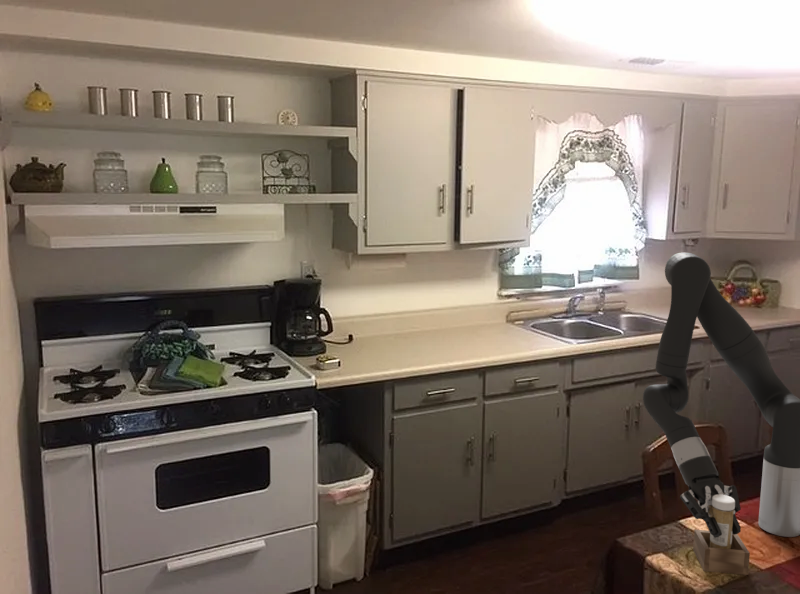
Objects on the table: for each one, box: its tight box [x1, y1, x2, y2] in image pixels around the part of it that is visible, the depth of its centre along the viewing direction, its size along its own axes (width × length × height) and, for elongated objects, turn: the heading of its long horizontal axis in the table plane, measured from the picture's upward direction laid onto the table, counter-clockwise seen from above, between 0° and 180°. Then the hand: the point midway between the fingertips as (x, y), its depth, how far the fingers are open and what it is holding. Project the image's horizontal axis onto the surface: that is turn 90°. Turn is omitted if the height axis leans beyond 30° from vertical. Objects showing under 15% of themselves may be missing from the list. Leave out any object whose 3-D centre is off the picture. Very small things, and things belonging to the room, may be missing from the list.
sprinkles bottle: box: [710, 494, 735, 549], centre depth 149 cm, size 5×5×13 cm
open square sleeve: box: [692, 529, 751, 576], centre depth 150 cm, size 9×9×5 cm
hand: (727, 534), depth 148 cm, fingers closed on sprinkles bottle, 4 cm apart
